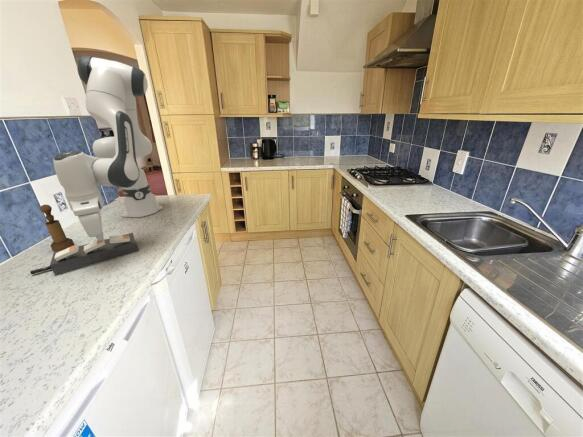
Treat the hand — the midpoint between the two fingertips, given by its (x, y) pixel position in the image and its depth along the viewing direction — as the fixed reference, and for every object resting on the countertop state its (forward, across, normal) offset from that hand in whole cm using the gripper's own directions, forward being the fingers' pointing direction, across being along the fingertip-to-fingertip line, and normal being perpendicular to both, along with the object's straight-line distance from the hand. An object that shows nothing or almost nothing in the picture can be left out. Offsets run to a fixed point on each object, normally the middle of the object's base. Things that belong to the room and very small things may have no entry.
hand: (100, 238), depth 86 cm
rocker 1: (+2, 0, -10) cm, 10 cm away
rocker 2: (+2, 0, +5) cm, 6 cm away
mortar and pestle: (+8, -20, -14) cm, 26 cm away
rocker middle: (+2, 0, -2) cm, 3 cm away
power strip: (+7, -2, -5) cm, 9 cm away
